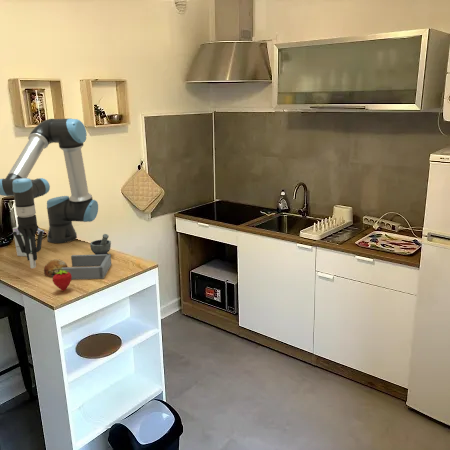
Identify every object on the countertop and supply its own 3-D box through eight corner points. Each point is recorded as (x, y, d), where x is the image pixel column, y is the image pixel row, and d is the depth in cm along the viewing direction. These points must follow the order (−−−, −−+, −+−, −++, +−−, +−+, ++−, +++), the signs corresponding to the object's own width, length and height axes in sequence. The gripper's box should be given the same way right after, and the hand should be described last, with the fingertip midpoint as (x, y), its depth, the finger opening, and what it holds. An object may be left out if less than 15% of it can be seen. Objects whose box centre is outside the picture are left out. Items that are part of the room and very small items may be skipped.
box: (73, 265, 211) (71, 255, 209) (111, 264, 211) (110, 254, 210) (62, 279, 194) (60, 268, 193) (103, 278, 195) (102, 267, 194)
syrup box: (27, 256, 223) (23, 228, 219) (16, 256, 224) (12, 227, 220) (34, 252, 228) (30, 224, 224) (23, 252, 229) (19, 224, 225)
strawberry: (51, 291, 183) (48, 268, 180) (68, 285, 188) (66, 263, 185) (58, 295, 179) (55, 271, 176) (76, 289, 184) (73, 266, 181)
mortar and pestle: (87, 256, 222) (85, 232, 219) (104, 251, 229) (102, 228, 226) (100, 261, 215) (98, 237, 212) (117, 256, 222) (115, 232, 218)
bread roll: (70, 278, 206) (72, 260, 207) (60, 277, 195) (62, 258, 197) (49, 277, 206) (51, 259, 208) (38, 276, 196) (40, 257, 198)
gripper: (7, 217, 191) (15, 270, 197) (38, 217, 191) (45, 269, 198) (14, 213, 198) (21, 264, 204) (44, 212, 198) (51, 263, 205)
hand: (33, 267), depth 201 cm, fingers closed
